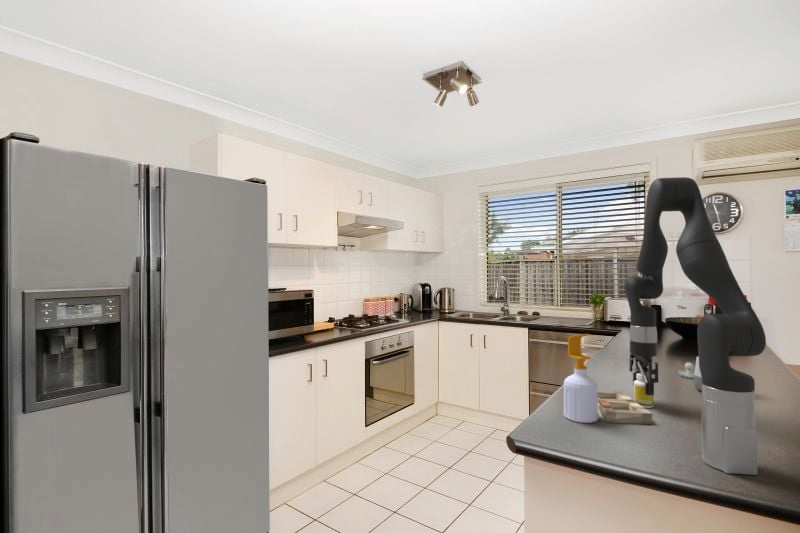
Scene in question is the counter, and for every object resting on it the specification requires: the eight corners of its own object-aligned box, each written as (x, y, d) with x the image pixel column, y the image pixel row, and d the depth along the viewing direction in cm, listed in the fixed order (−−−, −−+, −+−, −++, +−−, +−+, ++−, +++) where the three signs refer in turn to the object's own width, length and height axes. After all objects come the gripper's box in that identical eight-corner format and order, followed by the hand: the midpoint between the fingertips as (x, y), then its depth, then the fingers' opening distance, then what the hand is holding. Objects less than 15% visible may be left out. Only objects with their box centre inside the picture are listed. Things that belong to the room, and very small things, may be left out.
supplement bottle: (656, 409, 129) (656, 377, 129) (637, 407, 130) (636, 376, 130) (649, 403, 134) (649, 372, 134) (631, 402, 135) (631, 372, 135)
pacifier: (680, 375, 171) (677, 377, 167) (680, 359, 171) (677, 361, 167) (702, 378, 166) (699, 380, 161) (702, 362, 166) (699, 364, 162)
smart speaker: (705, 387, 152) (705, 349, 152) (733, 394, 144) (733, 353, 144) (687, 390, 149) (687, 350, 149) (715, 397, 140) (715, 355, 140)
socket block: (651, 424, 116) (651, 409, 116) (606, 422, 117) (606, 408, 117) (620, 400, 137) (620, 388, 137) (582, 399, 138) (582, 387, 138)
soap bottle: (577, 425, 115) (577, 336, 116) (557, 413, 124) (557, 331, 124) (604, 421, 118) (604, 334, 118) (582, 411, 127) (582, 330, 127)
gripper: (667, 344, 124) (667, 398, 125) (645, 336, 139) (645, 384, 139) (640, 343, 125) (640, 397, 125) (621, 335, 139) (621, 384, 140)
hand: (643, 390), depth 132 cm, fingers open, 8 cm apart
